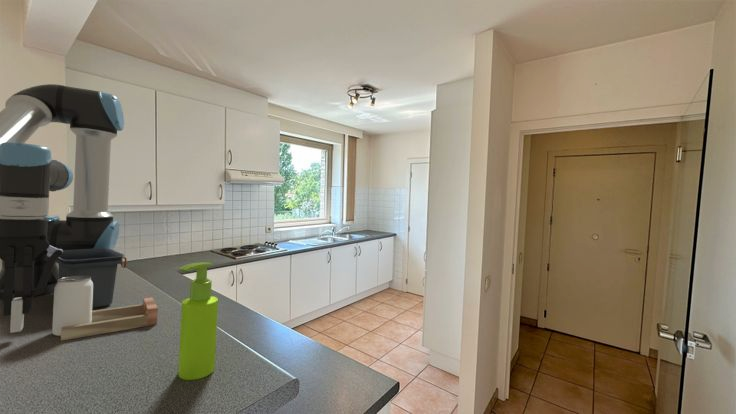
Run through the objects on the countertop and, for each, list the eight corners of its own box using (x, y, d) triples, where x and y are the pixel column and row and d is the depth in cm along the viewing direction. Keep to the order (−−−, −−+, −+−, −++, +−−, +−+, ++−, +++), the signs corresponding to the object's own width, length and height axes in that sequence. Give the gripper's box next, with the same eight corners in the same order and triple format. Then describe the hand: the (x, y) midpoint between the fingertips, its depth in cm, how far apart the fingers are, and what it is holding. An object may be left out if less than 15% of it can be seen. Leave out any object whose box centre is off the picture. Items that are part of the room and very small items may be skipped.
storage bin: (45, 298, 91) (48, 250, 91) (112, 289, 103) (114, 246, 103) (60, 317, 78) (63, 260, 78) (134, 304, 90) (137, 255, 90)
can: (67, 338, 67) (69, 283, 67) (44, 334, 68) (46, 280, 68) (98, 327, 73) (101, 276, 73) (76, 324, 75) (79, 274, 75)
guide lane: (65, 324, 74) (66, 308, 74) (151, 311, 85) (152, 297, 85) (60, 340, 66) (61, 322, 66) (156, 324, 77) (157, 308, 77)
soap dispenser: (164, 377, 55) (170, 264, 55) (199, 360, 61) (204, 258, 61) (188, 386, 52) (194, 268, 52) (221, 367, 59) (227, 262, 59)
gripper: (-34, 218, 58) (-40, 344, 58) (64, 219, 67) (58, 329, 67) (-21, 216, 64) (-27, 330, 64) (67, 217, 72) (62, 318, 72)
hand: (16, 329), depth 65 cm, fingers closed
